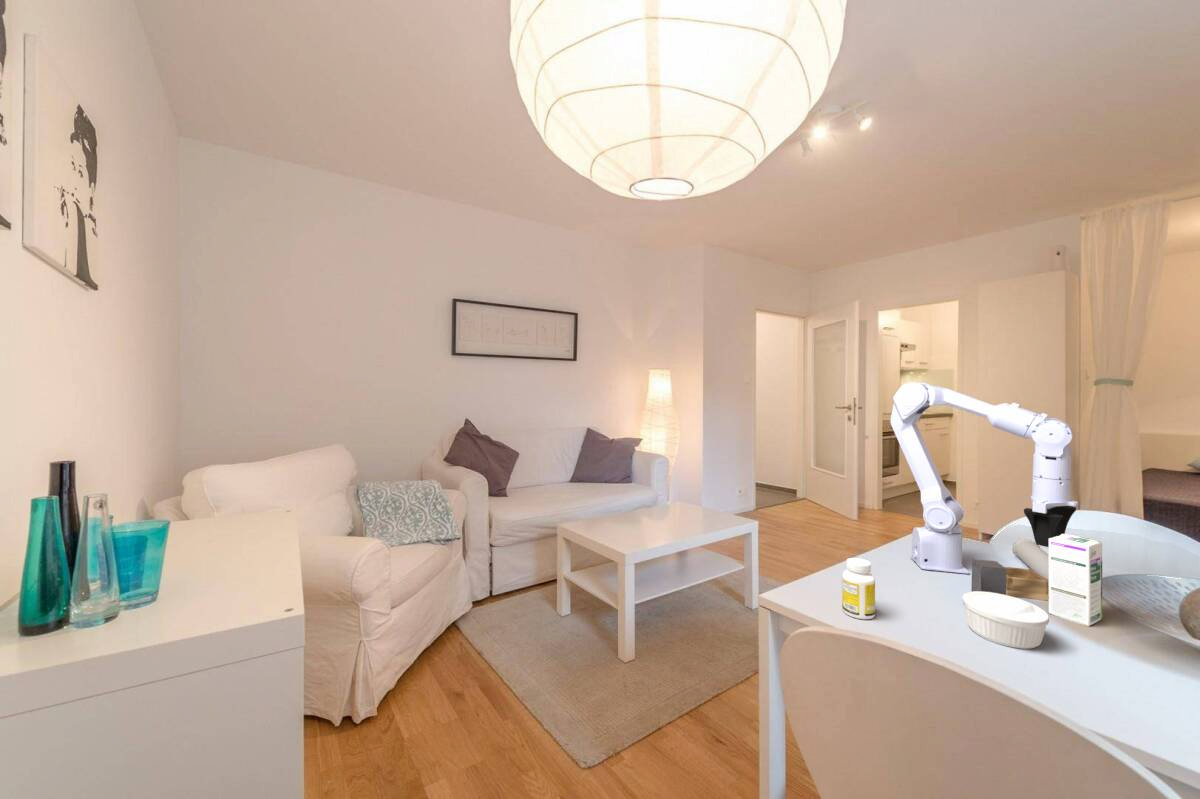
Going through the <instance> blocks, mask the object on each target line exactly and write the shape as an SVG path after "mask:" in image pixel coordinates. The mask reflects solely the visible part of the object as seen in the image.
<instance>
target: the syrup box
mask: <svg viewBox="0 0 1200 799" xmlns="http://www.w3.org/2000/svg"><path fill="white" fill-rule="evenodd" d="M1048 554H1049V575H1048V576H1049V601H1048V613H1049V615H1052V616H1055V617H1058V618H1061V619H1064V620H1067V621H1070V622H1072V623H1076V624H1080V625H1083V626H1086V627H1091V625H1094V624H1096V623H1098V622H1099V621H1101V620H1103V542H1102V541H1100V540H1096V539H1093V538H1089V537H1085V536H1078V535H1074V534H1066V533H1065V534H1061V535H1060V536H1056V537H1053V538H1050V539H1049V547H1048Z"/></svg>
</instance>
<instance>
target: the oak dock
mask: <svg viewBox="0 0 1200 799" xmlns="http://www.w3.org/2000/svg"><path fill="white" fill-rule="evenodd" d="M1004 567H1005V568H1006V595H1008V596H1011V597H1015V598H1021V599H1022V598H1023V599H1031V600H1041V601H1048V602H1049V580H1047V579H1045V578H1044V577H1042V576H1041V575H1039V574H1038V573H1036V572H1035V571H1033V570H1032V569H1031V568H1022V567H1011V566H1004Z"/></svg>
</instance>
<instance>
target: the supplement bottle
mask: <svg viewBox="0 0 1200 799" xmlns="http://www.w3.org/2000/svg"><path fill="white" fill-rule="evenodd" d="M846 568H847V569H846V570H844V571H843V573H842V575H841V576H842V577H841V578H842V581H841V582H842V590H841V591H842V594H841V595H842V605H841V607H842V611H843V612H844V613H845V614H846V615H847V616H849V617H851V618H854V619H859V620H871V619H873V618H874V617H875V616H876V578H875V576H874V575H873V574H872V573H871V570H872V564H871V562H870V561H869V560H866V559H863V558H857V557H850V558H847V559H846Z"/></svg>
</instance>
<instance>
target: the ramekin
mask: <svg viewBox="0 0 1200 799" xmlns="http://www.w3.org/2000/svg"><path fill="white" fill-rule="evenodd" d="M962 604H963V605H964V610H965V617H966V622H967V625H968V627H969V628H970V630H971V631H973V632H974V633H975V634H976V635H977V636H978V637H981V638H982V639H983V640H987V641H990V642H992V643H994V644H996V645H997V644H998V645H1001V646H1005V647H1008V648H1014V649H1023V650H1030V649H1035V648H1036V647H1038V646H1040V645H1041V644H1042V642H1043V639H1044V635H1045V632H1046V627H1047V626H1048V625H1049V623H1050V616H1049V615H1048V613H1047V612H1046V611H1045V610H1044V609H1042V608H1041V607H1039V606H1038V605H1036V604H1033V603H1031V602H1029V601H1027V600H1024V599H1022V598H1021V599H1020V598H1019V597H1012V596H1008V595H1003V594H998V593H992V592H982V591H974V592H971V591H969V592H966V593H963V595H962Z"/></svg>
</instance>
